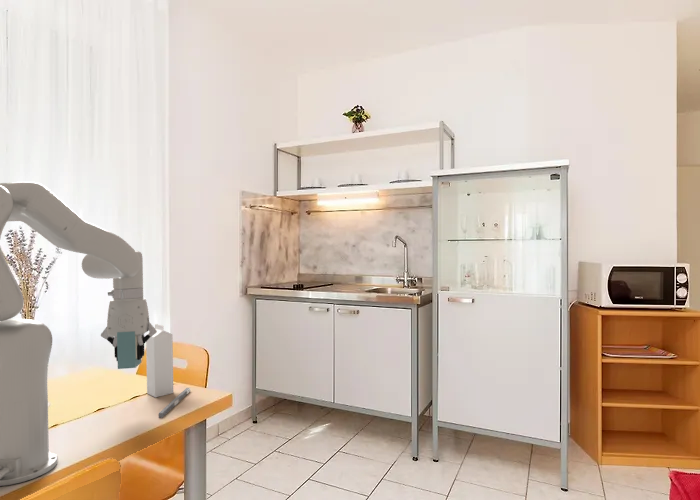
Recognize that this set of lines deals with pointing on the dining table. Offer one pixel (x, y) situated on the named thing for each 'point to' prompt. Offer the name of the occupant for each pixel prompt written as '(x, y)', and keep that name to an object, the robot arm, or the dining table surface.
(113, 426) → the dining table surface
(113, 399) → the dining table surface
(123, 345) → the tea tin
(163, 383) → the milk
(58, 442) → the dining table surface
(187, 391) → the rail
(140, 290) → the robot arm
